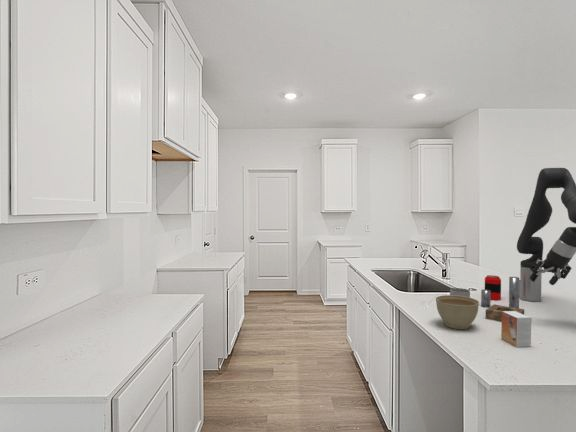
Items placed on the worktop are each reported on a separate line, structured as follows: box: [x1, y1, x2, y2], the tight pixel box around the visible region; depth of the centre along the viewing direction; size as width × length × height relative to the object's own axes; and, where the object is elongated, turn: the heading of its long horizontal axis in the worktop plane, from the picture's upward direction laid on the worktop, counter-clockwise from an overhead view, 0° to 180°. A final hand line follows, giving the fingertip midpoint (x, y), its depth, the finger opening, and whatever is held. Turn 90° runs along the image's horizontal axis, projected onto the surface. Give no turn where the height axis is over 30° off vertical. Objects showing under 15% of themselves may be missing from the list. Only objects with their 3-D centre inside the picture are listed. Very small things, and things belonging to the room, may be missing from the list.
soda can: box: [484, 274, 502, 301], centre depth 190 cm, size 8×8×12 cm
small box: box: [500, 311, 532, 348], centre depth 129 cm, size 8×6×10 cm
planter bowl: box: [435, 294, 480, 330], centre depth 147 cm, size 16×16×11 cm
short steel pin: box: [480, 288, 492, 309], centre depth 175 cm, size 4×4×8 cm
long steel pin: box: [508, 276, 520, 309], centre depth 167 cm, size 4×4×16 cm
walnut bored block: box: [485, 303, 525, 323], centre depth 156 cm, size 12×12×4 cm
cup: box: [449, 287, 471, 298], centre depth 168 cm, size 8×8×10 cm
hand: (541, 282), depth 152 cm, fingers open, 8 cm apart
